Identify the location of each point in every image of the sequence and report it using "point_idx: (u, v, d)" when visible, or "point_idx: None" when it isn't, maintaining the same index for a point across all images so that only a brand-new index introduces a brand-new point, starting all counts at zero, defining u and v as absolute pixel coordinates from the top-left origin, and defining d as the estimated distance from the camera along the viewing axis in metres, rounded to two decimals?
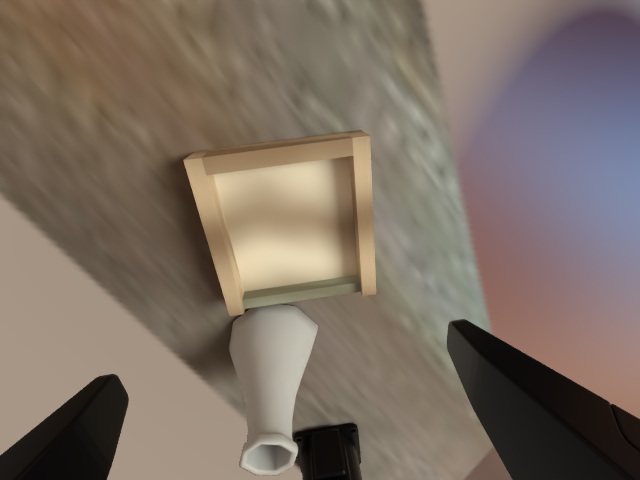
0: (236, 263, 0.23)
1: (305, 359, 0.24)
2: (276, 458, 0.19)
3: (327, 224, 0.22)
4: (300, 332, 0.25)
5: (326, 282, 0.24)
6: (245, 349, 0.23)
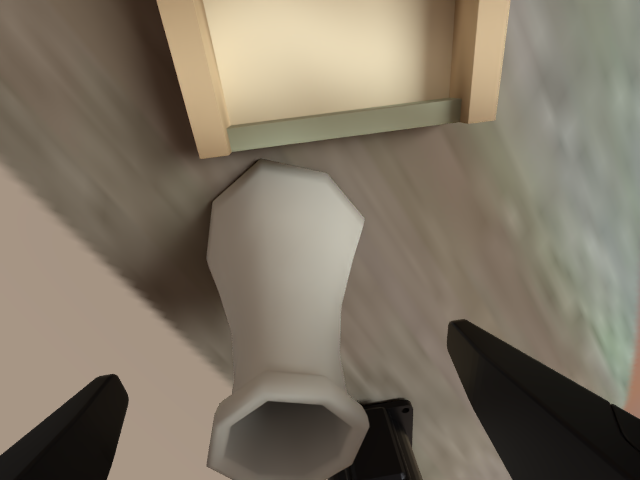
0: (213, 48, 0.11)
1: (350, 257, 0.12)
2: (303, 447, 0.08)
3: None
4: (337, 213, 0.13)
5: (391, 106, 0.12)
6: (233, 232, 0.12)
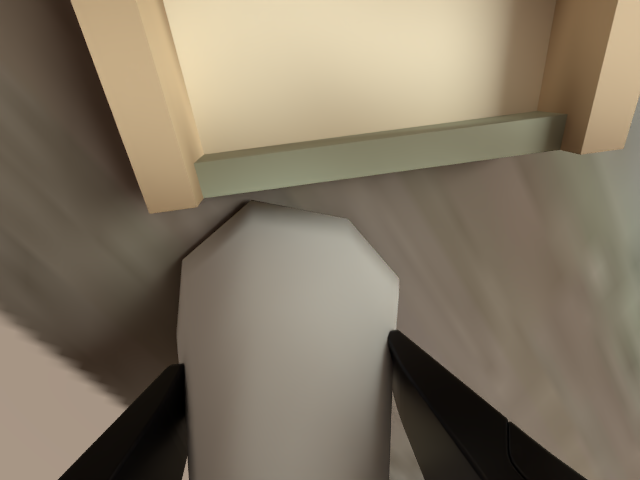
0: (171, 34, 0.07)
1: (390, 360, 0.08)
2: None
3: None
4: (366, 283, 0.09)
5: (453, 124, 0.08)
6: (206, 326, 0.07)
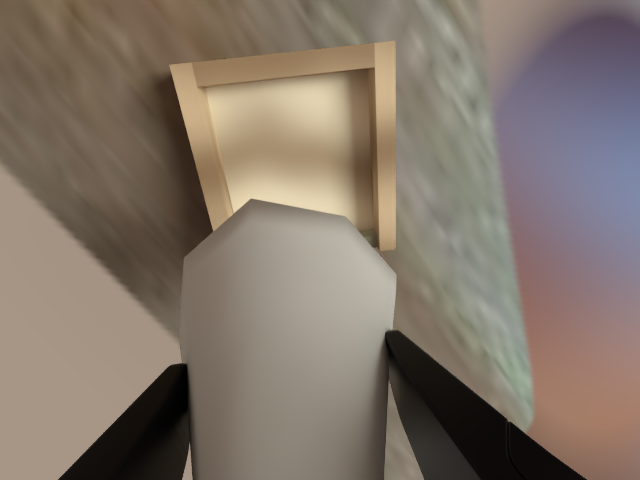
0: (232, 210, 0.19)
1: (386, 353, 0.08)
2: None
3: (340, 163, 0.19)
4: (363, 279, 0.09)
5: None
6: (207, 321, 0.08)
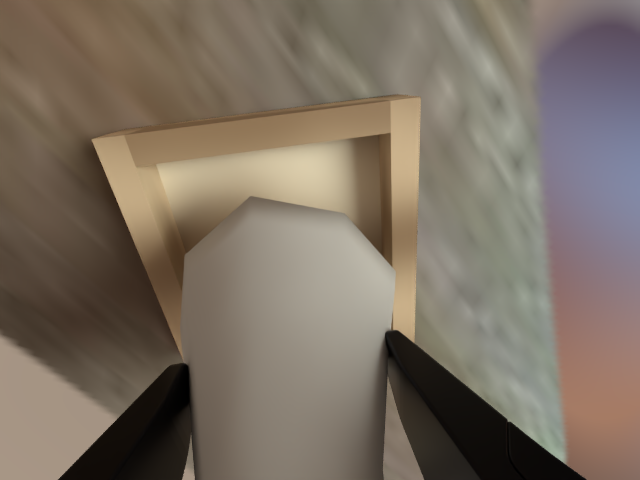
0: None
1: (385, 348, 0.08)
2: None
3: None
4: (362, 275, 0.09)
5: None
6: (207, 317, 0.08)
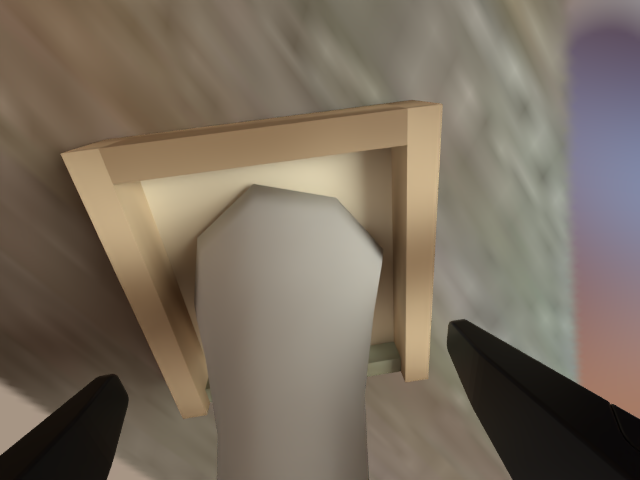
0: (194, 330, 0.13)
1: (371, 308, 0.09)
2: None
3: None
4: (351, 250, 0.10)
5: None
6: (220, 284, 0.09)
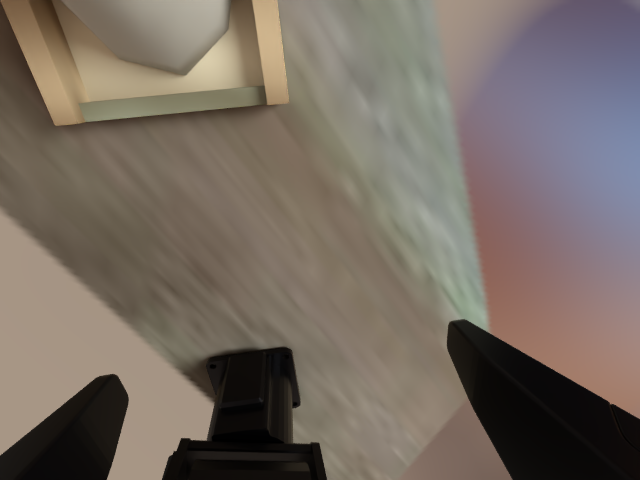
0: (65, 40, 0.14)
1: None
2: None
3: None
4: None
5: None
6: None
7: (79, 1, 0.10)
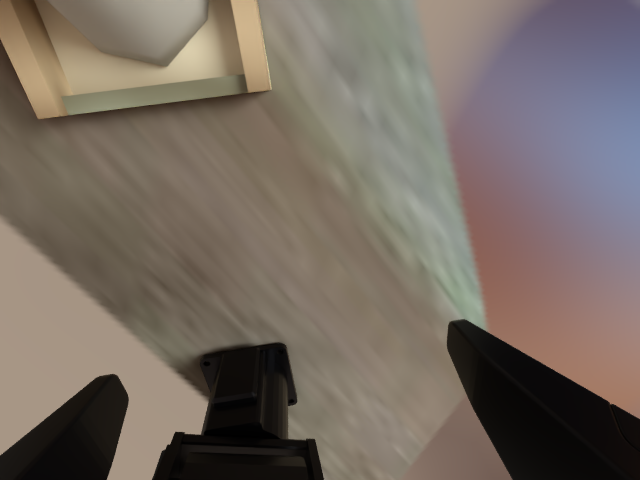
0: (47, 35, 0.14)
1: None
2: None
3: None
4: None
5: None
6: None
7: None
